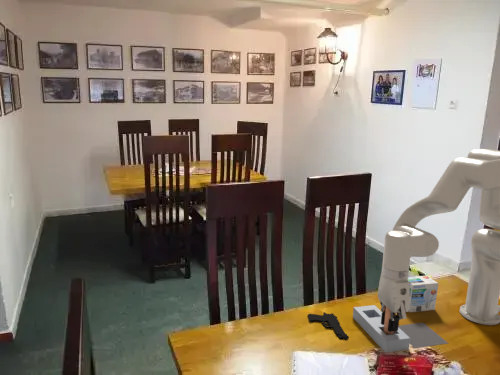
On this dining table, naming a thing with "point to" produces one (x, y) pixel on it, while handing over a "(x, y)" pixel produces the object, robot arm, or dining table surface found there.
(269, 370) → the dining table surface
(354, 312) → the socket block
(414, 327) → the mat
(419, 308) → the light bulb box
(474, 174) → the robot arm
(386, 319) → the dowel
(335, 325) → the handgun
